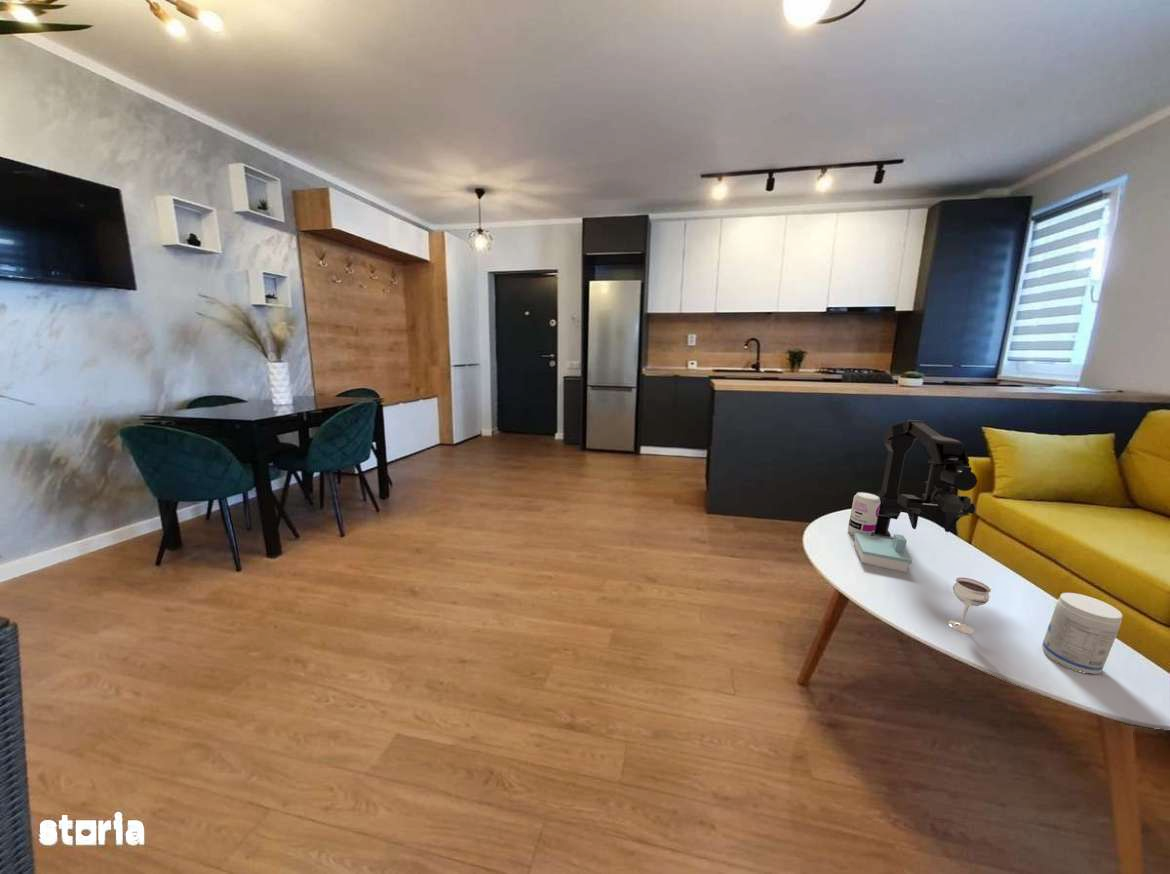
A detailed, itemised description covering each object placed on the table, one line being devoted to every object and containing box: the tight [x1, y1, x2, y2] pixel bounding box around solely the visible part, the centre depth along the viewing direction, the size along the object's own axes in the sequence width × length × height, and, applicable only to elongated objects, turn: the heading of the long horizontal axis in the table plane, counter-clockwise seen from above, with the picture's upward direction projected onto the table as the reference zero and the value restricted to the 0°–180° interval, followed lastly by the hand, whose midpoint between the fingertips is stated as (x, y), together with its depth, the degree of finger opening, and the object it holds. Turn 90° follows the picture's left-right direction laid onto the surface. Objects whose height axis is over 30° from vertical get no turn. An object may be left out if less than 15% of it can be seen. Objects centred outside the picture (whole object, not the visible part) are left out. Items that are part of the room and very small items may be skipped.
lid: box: [853, 533, 913, 564], centre depth 141 cm, size 14×13×6 cm
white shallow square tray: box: [853, 538, 910, 573], centre depth 142 cm, size 13×12×4 cm
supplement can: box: [847, 491, 881, 536], centre depth 158 cm, size 8×8×15 cm
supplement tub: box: [1041, 592, 1124, 675], centre depth 98 cm, size 10×10×15 cm
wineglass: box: [948, 576, 992, 635], centre depth 108 cm, size 7×7×12 cm
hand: (930, 530), depth 133 cm, fingers open, 9 cm apart
